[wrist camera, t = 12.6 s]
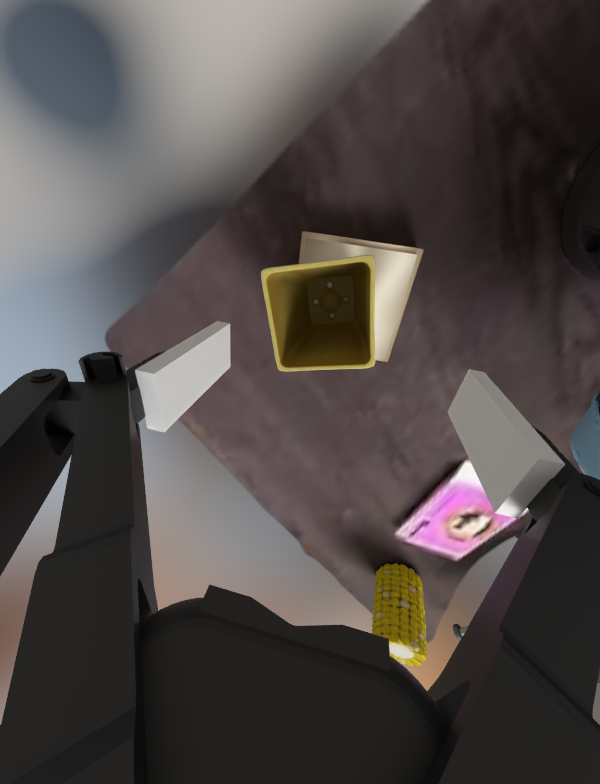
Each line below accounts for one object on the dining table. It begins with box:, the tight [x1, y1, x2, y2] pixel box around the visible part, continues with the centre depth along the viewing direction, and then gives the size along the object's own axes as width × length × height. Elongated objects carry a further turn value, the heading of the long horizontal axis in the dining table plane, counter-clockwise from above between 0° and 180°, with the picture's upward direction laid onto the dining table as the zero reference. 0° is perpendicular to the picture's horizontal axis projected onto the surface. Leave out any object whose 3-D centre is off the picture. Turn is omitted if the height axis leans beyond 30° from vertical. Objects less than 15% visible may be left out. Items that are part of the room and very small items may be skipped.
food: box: [372, 563, 427, 666], centre depth 53 cm, size 15×12×10 cm
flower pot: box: [261, 255, 376, 371], centre depth 26 cm, size 9×9×9 cm
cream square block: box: [299, 231, 424, 362], centre depth 31 cm, size 12×12×4 cm
